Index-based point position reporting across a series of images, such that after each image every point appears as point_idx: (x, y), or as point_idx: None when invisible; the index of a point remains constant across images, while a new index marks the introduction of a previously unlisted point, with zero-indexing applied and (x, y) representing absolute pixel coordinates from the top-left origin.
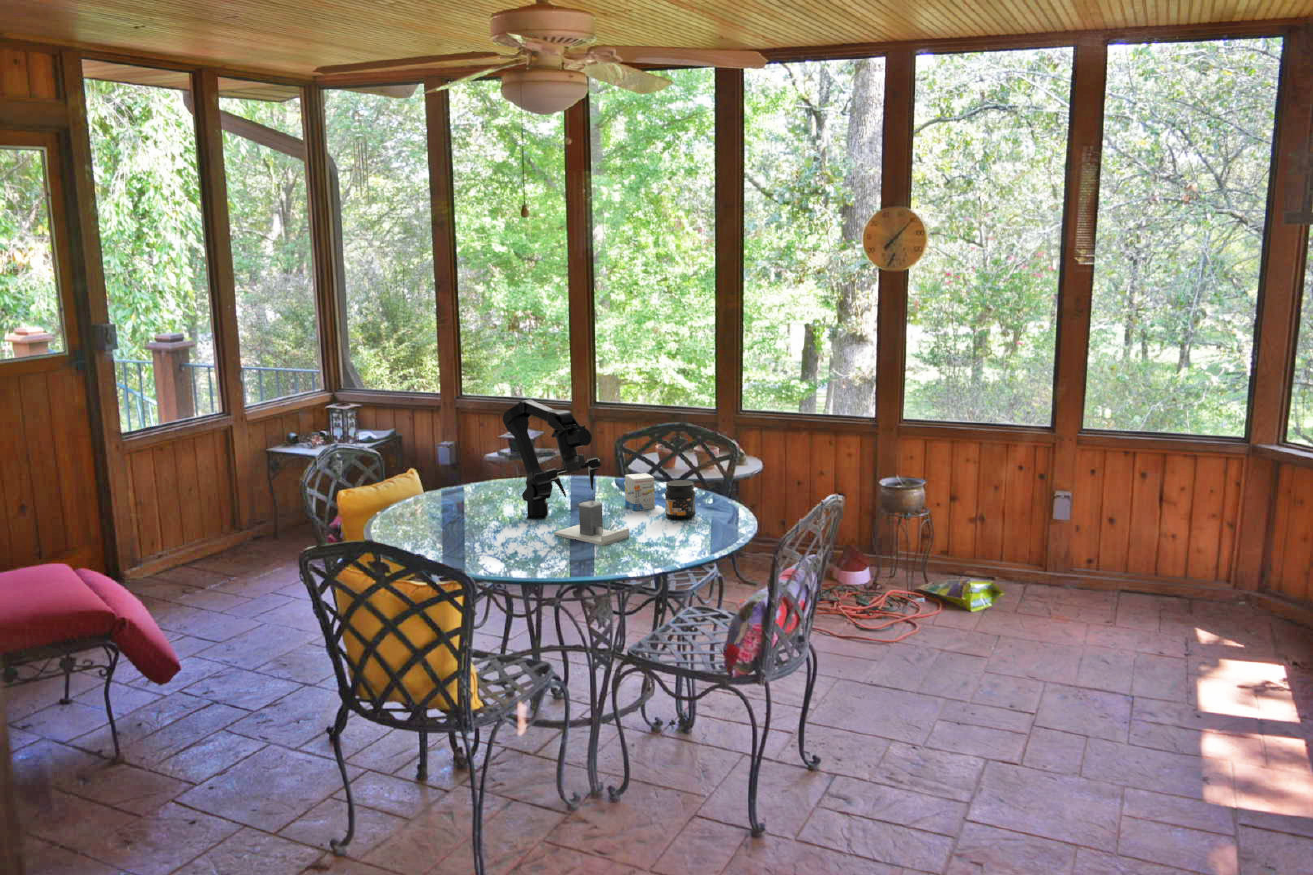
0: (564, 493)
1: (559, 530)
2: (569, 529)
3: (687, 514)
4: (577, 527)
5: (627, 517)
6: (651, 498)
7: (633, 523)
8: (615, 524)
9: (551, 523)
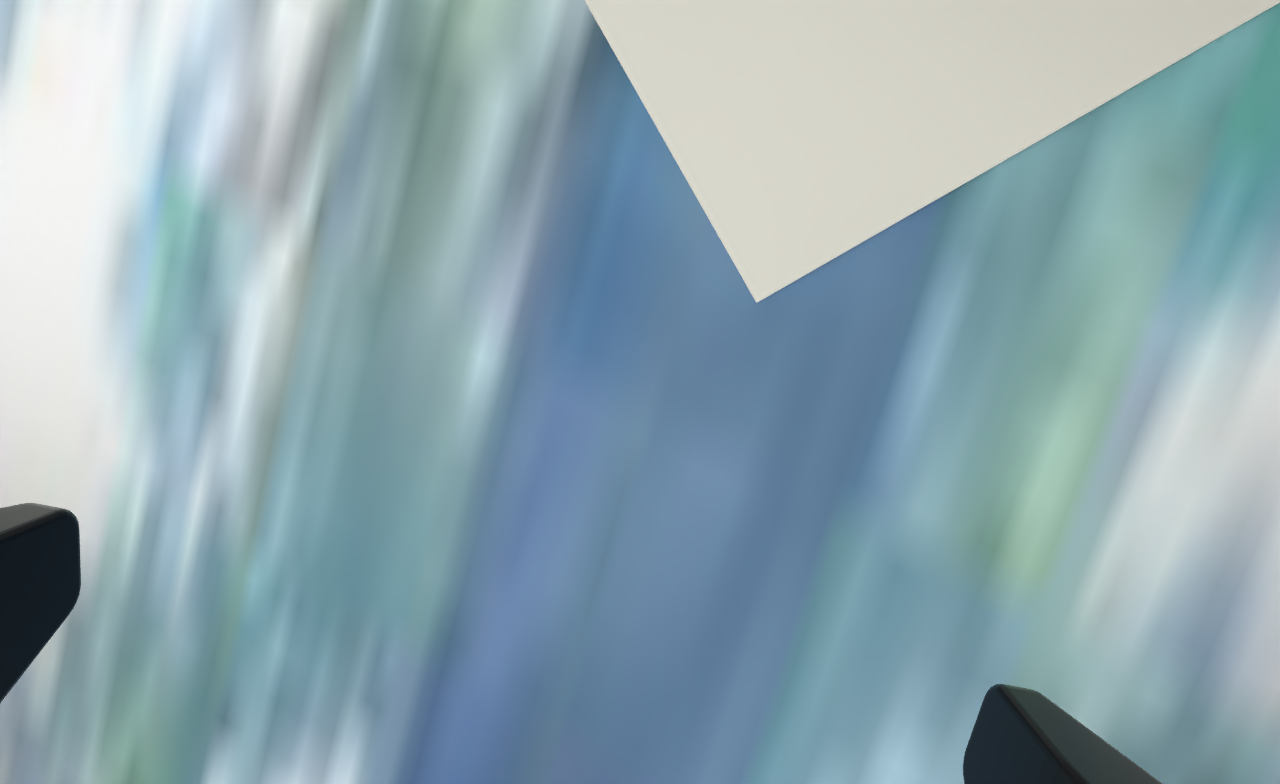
0: (1092, 753)
1: (1256, 10)
2: (1038, 15)
3: None
4: (852, 103)
5: None
6: None
7: (43, 186)
8: (250, 235)
9: (1112, 741)
